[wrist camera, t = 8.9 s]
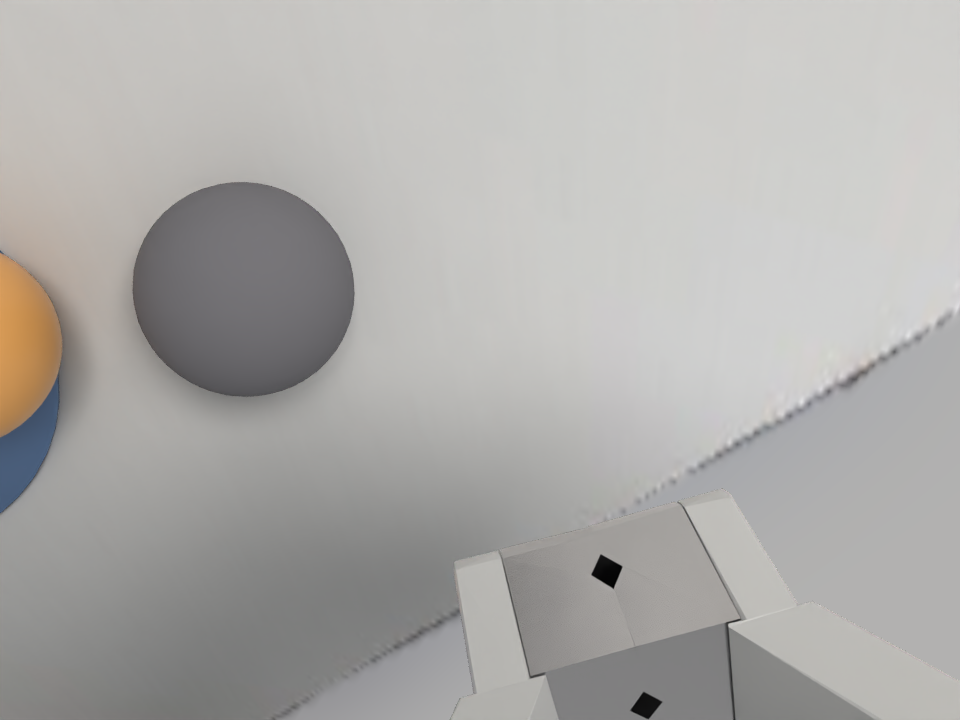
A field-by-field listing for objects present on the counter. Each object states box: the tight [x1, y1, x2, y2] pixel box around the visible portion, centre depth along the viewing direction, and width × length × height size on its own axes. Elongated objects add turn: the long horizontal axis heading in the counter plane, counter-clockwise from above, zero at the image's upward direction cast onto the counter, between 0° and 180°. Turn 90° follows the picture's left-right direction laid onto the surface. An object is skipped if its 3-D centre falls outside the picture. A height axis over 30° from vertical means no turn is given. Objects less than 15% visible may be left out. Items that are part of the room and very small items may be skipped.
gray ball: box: [133, 182, 354, 396], centre depth 20 cm, size 5×5×5 cm
